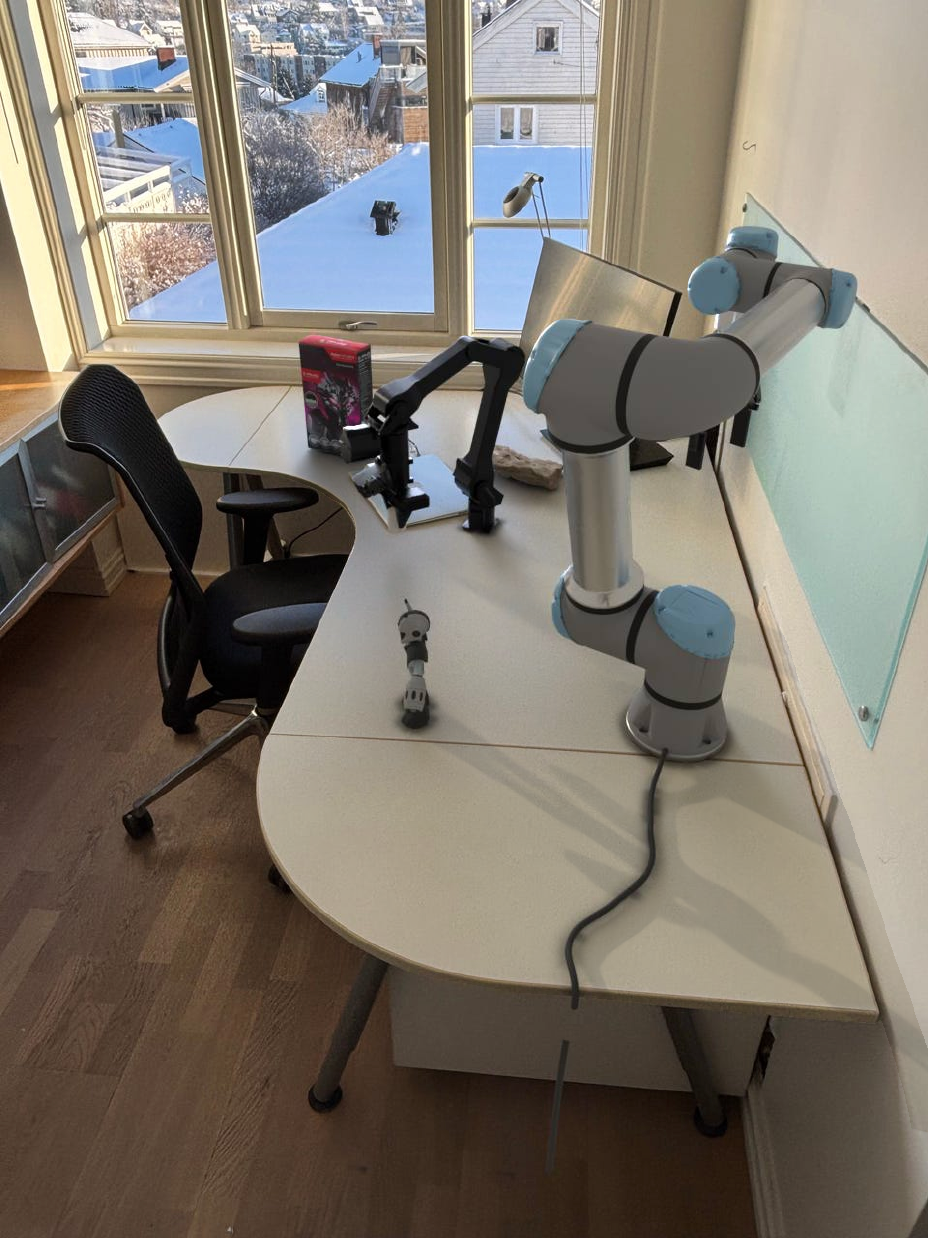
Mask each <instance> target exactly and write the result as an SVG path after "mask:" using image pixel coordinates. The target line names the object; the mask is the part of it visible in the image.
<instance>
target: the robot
mask: <svg viewBox="0 0 928 1238" xmlns="http://www.w3.org/2000/svg"><path fill="white" fill-rule="evenodd" d="M403 602H404V604H405V607H406V610H407V611H406V612H404V613H403V614H402V615H400V616H399V617H398V621H397V623H396V624H397V625H396V626H397V627H398V629H397V630H398V631H399V635H400V644H401V645H403V649H404V652H405V654H406V669H408V671H409V674H410V677H409V678H408V679H407V680H408V681H407V682H406V685H405V689H404V696H403V697H402V700H401V705H402V706H403V708H404V713H403V716H402V718H401V723H402V725H404V726H405V727H406V728H410V729H419V728H421V727H424V726H426V725H428V724H429V722H430V719H431V717H430V716H431V715H430V709H429V706H430V695H429V692H428V689H427V683H426V678H425V677H424V674H425V664H427V663H429V650H428V648H427V641H429V640H428V639H429V638H428V634H427V633H428V632H430V629H431V620H430V617H429V615H428V614H427V613H426V612H424V611H422V610H419V609H413V608H412V606H411V604H410V602H409V600H408V599H407V598H404V600H403Z"/></svg>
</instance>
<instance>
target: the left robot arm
mask: <svg viewBox="0 0 928 1238" xmlns="http://www.w3.org/2000/svg"><path fill="white" fill-rule="evenodd" d="M526 357H527V356H526V354H525V351H524V350H523V348H521V346H518V345H516V344H515V343H513V342H510V341H509V340H507V339H505V338H502V337H495V338H492V339H491V340H490V339H487V338H481V337H473V336H472V337H471V336H469V335H461V336H459V337H458V338H457V339H456V341H455V342H454V343H453V344H452V345H450V346H448V347H447V348H446V349H444V350H443V351H442V352H440V353H439V354H437V356H435V357H434V358H432V359H430V361H427V363H425V364H424V365H422V366H421V367H419V368H418V369H417V370H416V371H414V372H413V373H412V374H409V375H408V376H405V377H402V378H398V379H394V380H391V381H390V382H388V383H386V384H383V385H382V386H380V387H378V388H377V390H376V391H374V392H373V402H372V404H371V405H370V407H369V409H368V410H367V412H366V414H365V416H364V417H363V421H364V422H365V423H366V424H363V425H358V426H348V427H344V428H343V434H341V437H340V441H339V447H340V452H341V455H340V456H341V457H342V460H343V461H344V463H345V464H347V465H351V464H354V463H359V462H364V461H367V460H373V459H374V462H371V463H367V464H365V466H364V467H363V469H362V470H361V471H359V472H358V473H356V474H354V475H353V476H352V477H351V480H352V483H353V484H354V487H355V489H356V491H357V493H358V494H360V495H361V496H362V497H363V499H370V498H371V497H375V496H377V495H380V496H381V498H382V501H383V503H384V506H385V507H384V508H385V509H386V511H387V510H388V508H390V507H394V508H395V512H396V518H397V523H398V527H399V529H401V528H404V527H405V525H406V526H407V523H408V521H409V519H410V517H411V515H412V513H413V512H415V511H419V510H423V509H427V508H429V507H430V506H431V502H430V501H431V496H429V495H428V494H427V493H426V492H425V491H424V490H422V489H421V488H420V487H419V486H415V487H409V486H408V485H411V484H414V481H415V479H414V477H413V476H412V475H411V473H410V465H413V464H414V458H413V457H411V456H410V441H409V440H410V438H409V431H413V430H418V429H419V428H420V426H419V424H417V422H415V421H414V420H413V419H412V416H413V415H414V414H415V413H416V412H417V411H418V410H419V409H420V406H421V405H422V403H423V401H424V400H425V398H427V396H428V395H430V394H432V392H434V391H435V390H436V389H438V388H439V387H441V386H442V385H444V384H445V383H446V382H448V381H449V380H450V379H452V378H453V377H454V376H456V375H457V374H459V373H460V372H461V371H463V370H464V369H465V368H467V367H468V366H470V364H471V365H472V363H474V362H475V363H478V364H479V363H480V364H482V367H481V368H482V374H483V378H484V388H483V391H482V396H481V400H480V405H479V407H478V412H477V416H476V421H475V425H474V429H473V434H472V438H471V442H470V446H469V450H468V452H467V453H466V454H465V455H464V457H457V458H456V460H455V468H454V470H453V472H452V476H453V478H454V480H453V482H454V484H455V486H456V487H457V488H458V489H459V490H460V491H461V493H462V495H465V497H467V519H466V521H464V522H463V523H462V525H461V528H462V529H464V530H469V531H475V532H479V533H484V534H491V533H492V532H493V531H494V529H495V528H496V527H497V525H498V524H499V523H500V522H501V519H500V518H497V517H496V515H495V514H496V507H498V506H501V505H502V503H503V500H504V494H503V493H502V492H501V491H499V490H498V489H497V488H496V487H495V485H494V484H495V475H496V473H495V472H496V471H495V470H494V467H493V461H492V456H493V452H494V448H495V445H497V444H496V443H497V439H498V436H499V431H500V428H501V425H502V424H501V423H502V419H503V415H504V413H505V407H506V404H507V400H508V396H509V392H510V390H511V388H512V387H513V386H514V385H515V384H516V382H517V381H518V380H519V378H520V377H521V375H522V371H523V369H524V367H525V365H526ZM379 416H381V417H382V418H384V421H383V420H381V419H380V418H379Z"/></svg>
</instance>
